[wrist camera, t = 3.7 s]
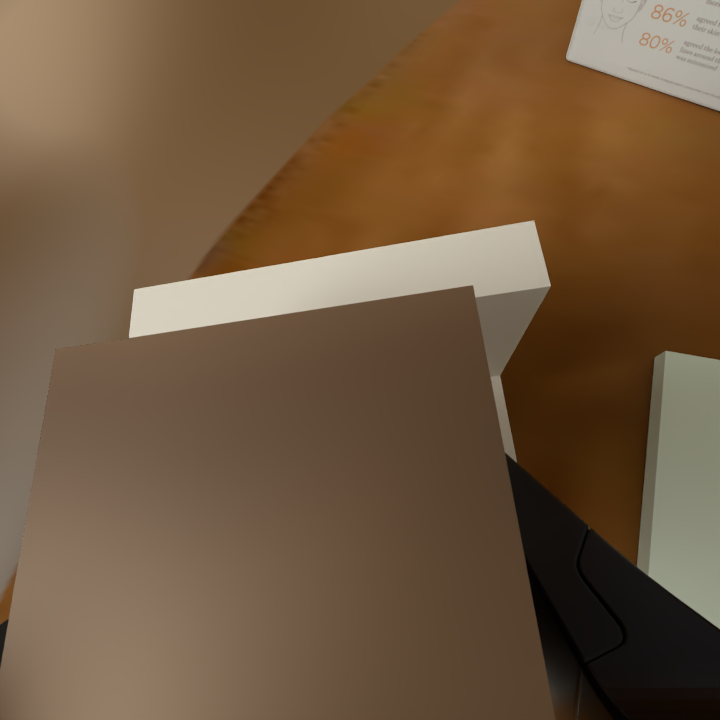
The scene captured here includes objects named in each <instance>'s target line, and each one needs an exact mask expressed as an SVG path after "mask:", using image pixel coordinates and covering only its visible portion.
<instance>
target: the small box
mask: <svg viewBox="0 0 720 720" xmlns="http://www.w3.org/2000/svg"><path fill="white" fill-rule="evenodd" d="M566 59H567V60H568V61H570V62H573V63H577V64H580V65H583V66H585V67H588V68H591V69H594V70H598V71H600V72H603V73H606V74H609V75H612V76H615V77H618V78H621V79H624V80H627V81H630V82H633V83H636V84H639V85H642V86H645V87H648V88H651V89H654V90H657V91H660V92H663V93H666V94H669V95H671V96H675V97H678V98H681V99H684V100H687V101H690V102H693V103H696V104H699V105H702V106H705V107H708V108H711V109H714V110H717V111H720V0H582V3H581V6H580V10H579V13H578V16H577V20H576V24H575V27H574V31H573V34H572V38H571V41H570V45H569V48H568V51H567V54H566Z"/></svg>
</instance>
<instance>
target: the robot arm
mask: <svg viewBox="0 0 720 720" xmlns="http://www.w3.org/2000/svg"><path fill="white" fill-rule="evenodd" d="M505 456H506V461H507V467H508V472H509V477H510V482H511V488H512V493H513V498H514V503H515V509H516V514H517V519H518V524H519V530H520V535H521V540H522V546H523V551H524V556H525V561H526V567H527V572H528V577H529V582H530V588H531V593H532V598H533V603H534V609H535V614H536V619H537V625H538V630H539V635H540V640H541V646H542V651H543V656H544V661H545V667H546V672H547V677H548V683H549V688H550V693H551V698H552V704H553V709H554V714H555V719H556V720H720V629H719V628H718V627H716V626H715V625H714V624H712V623H711V622H710V621H708V620H707V619H706V618H704V617H703V616H701V615H700V614H699V613H697V612H696V611H695V610H693V609H692V608H691V607H689V606H688V605H687V604H685V603H684V602H682V601H681V600H680V599H678V598H677V597H676V596H674V595H673V594H672V593H670V592H669V591H668V590H666V589H665V588H664V587H662V586H661V585H660V584H659V583H657V582H656V581H655V580H653V579H652V578H651V577H649V576H648V575H647V574H645V573H644V572H643V571H642V570H640V569H639V568H638V567H636V566H635V565H634V564H633V563H632V562H630V561H629V560H628V559H627V558H626V557H624V556H623V555H622V554H621V553H620V552H618V551H617V550H616V549H615V548H614V547H612V546H611V545H610V544H609V543H608V542H607V541H605V540H604V539H603V538H602V537H601V536H600V535H599V534H597V533H596V532H595V531H594V530H593V529H589V526H588V525H587V524H586V523H585V522H584V521H583V520H581V519H580V518H579V517H578V516H577V515H576V514H575V513H573V512H572V511H571V510H570V509H569V508H568V507H567V506H565V505H564V504H563V503H562V502H561V501H560V500H559V499H558V498H556V497H555V496H554V495H553V494H552V493H551V492H550V491H548V490H547V489H546V488H545V487H544V486H543V485H542V484H541V483H539V482H538V481H537V480H536V479H535V478H534V477H533V476H531V475H530V474H529V473H528V472H527V471H526V470H525V469H523V468H522V467H521V466H520V465H519V464H518V463H517V462H516V461H514V460H513V459H512V458H511V457H510V456H509V455H508V454H506V453H505ZM8 621H9V619H8V620H6V621H5V622H3V623H2V624H0V667H1V661H2V656H3V650H4V644H5V638H6V632H7V627H8Z"/></svg>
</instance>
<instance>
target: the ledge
mask: <svg viewBox="0 0 720 720" xmlns="http://www.w3.org/2000/svg"><path fill="white" fill-rule="evenodd" d="M471 285H473V287H474V293H475V298H476V303H477V308H478V314H479V319H480V324H481V330H482V335H483V340H484V345H485V351H486V356H487V361H488V366H489V372H490V377H491V382H492V388H493V393H494V398H495V403H496V409H497V414H498V419H499V424H500V430H501V435H502V440H503V445H504V451H505V453H506V454H508V455H509V456H510V457H511V458H512V459H513V460H514V461H516V462H517V459H516V454H515V449H514V444H513V439H512V434H511V429H510V424H509V419H508V414H507V409H506V404H505V399H504V393H503V388H502V383H501V378H500V375H501V373H502V371H503V370H504V368H505V366H506V364H507V363H508V361H509V359H510V357H511V356H512V354H513V352H514V350H515V348H516V347H517V345H518V343H519V341H520V340H521V338H522V336H523V334H524V333H525V331H526V329H527V327H528V326H529V324H530V322H531V320H532V319H533V317H534V315H535V313H536V312H537V310H538V308H539V306H540V305H541V303H542V301H543V299H544V297H545V296H546V294H547V292H548V290H549V289H550V287H551V284H550V280H549V277H548V273H547V269H546V265H545V261H544V257H543V253H542V250H541V246H540V242H539V238H538V234H537V230H536V226H535V223H534V221H528V222H522V223H517V224H511V225H505V226H499V227H493V228H488V229H482V230H476V231H470V232H464V233H459V234H453V235H447V236H441V237H436V238H430V239H424V240H418V241H412V242H407V243H401V244H395V245H389V246H383V247H378V248H372V249H366V250H360V251H355V252H349V253H343V254H337V255H331V256H326V257H320V258H314V259H308V260H302V261H297V262H291V263H285V264H279V265H274V266H268V267H262V268H256V269H250V270H245V271H239V272H233V273H227V274H221V275H216V276H210V277H204V278H198V279H192V280H187V281H181V282H175V283H170V284H164V285H159V286H152V287H146V288H140V289H135V290H134V298H133V305H132V314H131V323H130V332H129V338H132V337H139V336H145V335H152V334H158V333H165V332H171V331H178V330H184V329H191V328H197V327H204V326H210V325H217V324H223V323H230V322H236V321H243V320H249V319H256V318H262V317H269V316H275V315H282V314H288V313H295V312H301V311H308V310H314V309H321V308H327V307H334V306H340V305H347V304H353V303H360V302H366V301H373V300H379V299H386V298H393V297H399V296H406V295H412V294H419V293H425V292H432V291H438V290H445V289H451V288H458V287H464V286H471Z"/></svg>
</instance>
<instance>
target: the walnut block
mask: <svg viewBox="0 0 720 720" xmlns="http://www.w3.org/2000/svg"><path fill="white" fill-rule="evenodd" d="M0 720H556V719H555V714H554V709H553V704H552V698H551V693H550V688H549V683H548V677H547V672H546V667H545V661H544V656H543V651H542V646H541V640H540V635H539V630H538V625H537V619H536V614H535V609H534V603H533V598H532V593H531V588H530V582H529V577H528V572H527V567H526V561H525V556H524V551H523V546H522V540H521V535H520V530H519V524H518V519H517V514H516V509H515V503H514V498H513V493H512V488H511V482H510V477H509V472H508V467H507V461H506V456H505V451H504V445H503V440H502V435H501V430H500V424H499V419H498V414H497V409H496V403H495V398H494V393H493V388H492V382H491V377H490V372H489V366H488V361H487V356H486V351H485V345H484V340H483V335H482V330H481V324H480V319H479V314H478V308H477V303H476V298H475V293H474V287H473V285H471V286H464V287H458V288H451V289H445V290H438V291H432V292H425V293H419V294H412V295H406V296H399V297H393V298H386V299H379V300H373V301H366V302H360V303H353V304H347V305H340V306H334V307H327V308H321V309H314V310H308V311H301V312H295V313H288V314H282V315H275V316H269V317H262V318H256V319H249V320H243V321H236V322H230V323H223V324H217V325H210V326H204V327H197V328H191V329H184V330H178V331H171V332H165V333H158V334H152V335H145V336H139V337H132V338H126V339H120V340H113V341H106V342H100V343H93V344H87V345H80V346H74V347H67V348H61V349H56V350H55V355H54V361H53V366H52V373H51V378H50V384H49V390H48V395H47V401H46V407H45V413H44V419H43V424H42V430H41V436H40V442H39V448H38V453H37V459H36V465H35V471H34V477H33V482H32V488H31V494H30V499H29V505H28V511H27V517H26V523H25V528H24V535H23V540H22V546H21V552H20V557H19V563H18V569H17V575H16V580H15V586H14V592H13V598H12V604H11V609H10V615H9V621H8V627H7V632H6V638H5V644H4V650H3V656H2V661H1V667H0Z"/></svg>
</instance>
